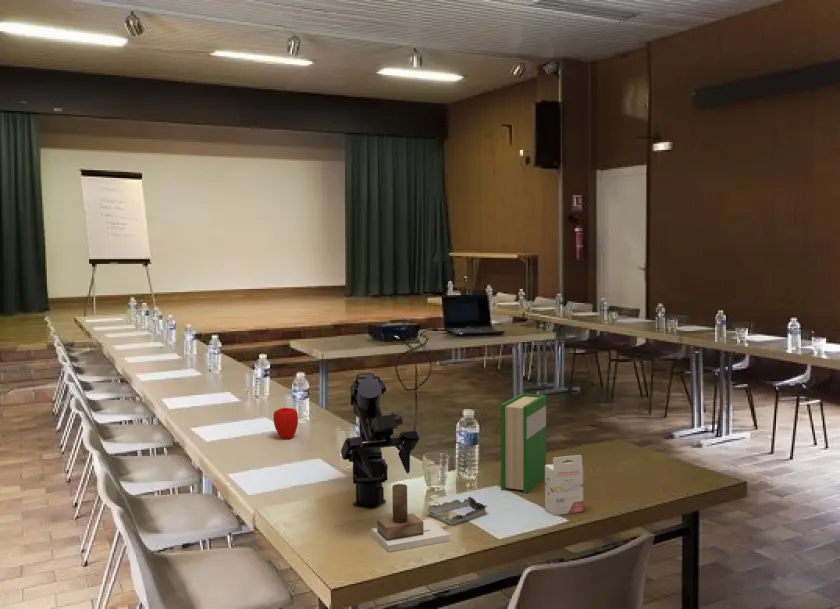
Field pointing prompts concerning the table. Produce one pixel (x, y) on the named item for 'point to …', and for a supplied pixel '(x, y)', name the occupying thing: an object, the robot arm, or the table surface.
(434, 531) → the primed board
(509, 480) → the hardback book
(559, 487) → the ink cartridge box
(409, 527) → the brown wooden peg block
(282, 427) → the apple
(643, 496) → the table surface
